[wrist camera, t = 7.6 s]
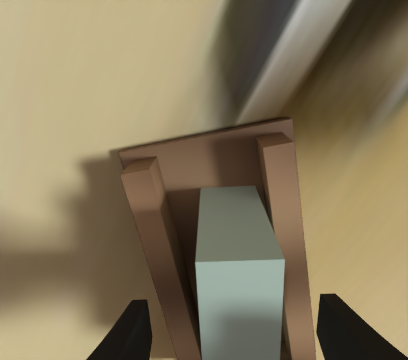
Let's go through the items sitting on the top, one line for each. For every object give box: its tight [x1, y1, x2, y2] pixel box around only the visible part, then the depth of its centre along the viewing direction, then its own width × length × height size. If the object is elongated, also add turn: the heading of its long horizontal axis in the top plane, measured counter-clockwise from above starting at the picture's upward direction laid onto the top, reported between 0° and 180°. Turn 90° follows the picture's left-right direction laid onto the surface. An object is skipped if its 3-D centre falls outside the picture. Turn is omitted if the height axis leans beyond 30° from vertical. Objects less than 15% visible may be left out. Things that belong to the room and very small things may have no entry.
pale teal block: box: [195, 186, 285, 360], centre depth 13 cm, size 9×3×6 cm, turn 3°
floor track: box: [119, 117, 316, 360], centre depth 15 cm, size 14×8×3 cm, turn 11°
